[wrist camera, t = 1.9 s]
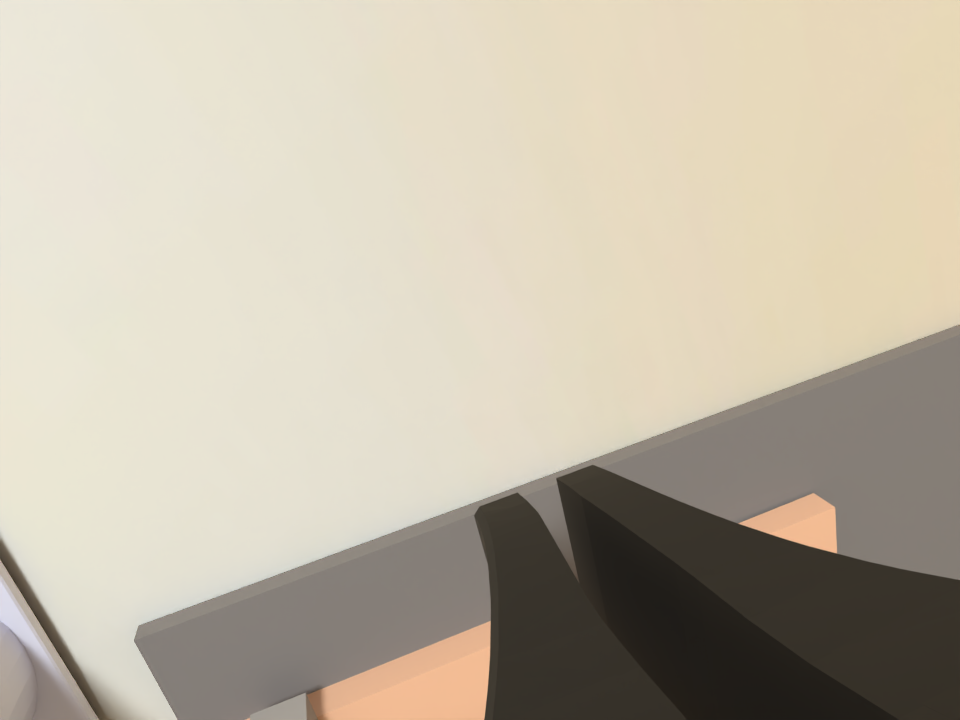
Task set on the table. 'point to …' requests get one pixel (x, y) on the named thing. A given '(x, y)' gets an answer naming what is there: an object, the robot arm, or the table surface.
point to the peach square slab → (800, 522)
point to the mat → (463, 566)
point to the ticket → (405, 687)
